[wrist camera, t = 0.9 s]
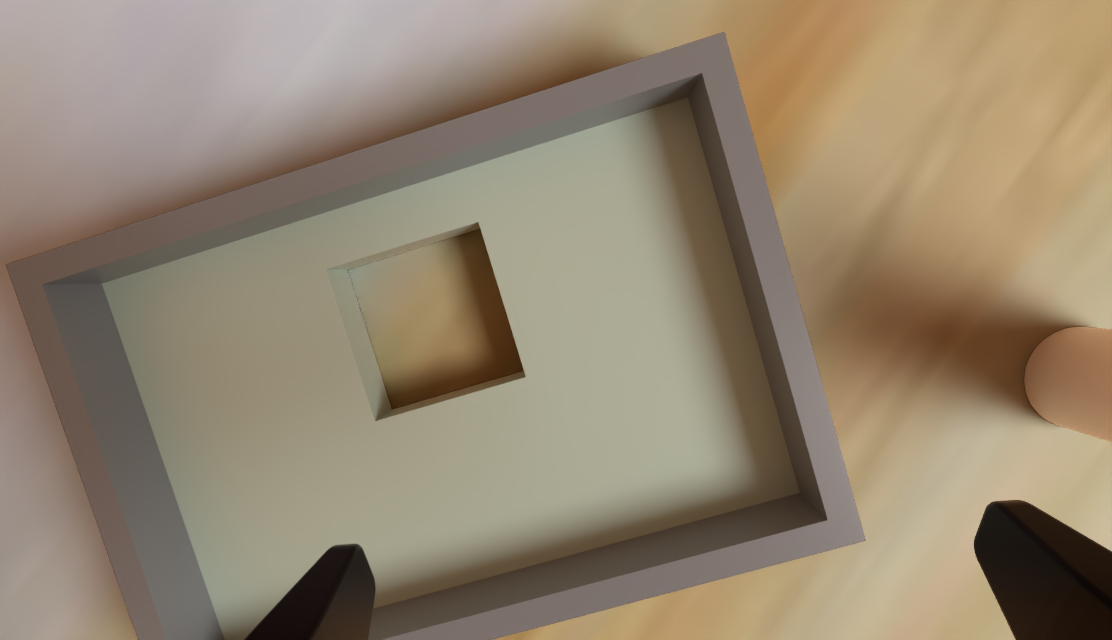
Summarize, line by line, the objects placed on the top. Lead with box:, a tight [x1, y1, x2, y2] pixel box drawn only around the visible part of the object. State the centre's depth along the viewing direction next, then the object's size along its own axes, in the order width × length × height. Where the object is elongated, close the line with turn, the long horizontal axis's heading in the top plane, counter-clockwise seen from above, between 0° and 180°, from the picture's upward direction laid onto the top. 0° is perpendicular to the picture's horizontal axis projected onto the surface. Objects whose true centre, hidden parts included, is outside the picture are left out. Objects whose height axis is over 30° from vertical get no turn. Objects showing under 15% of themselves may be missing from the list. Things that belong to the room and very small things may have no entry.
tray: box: [6, 32, 866, 640], centre depth 22 cm, size 17×25×4 cm
